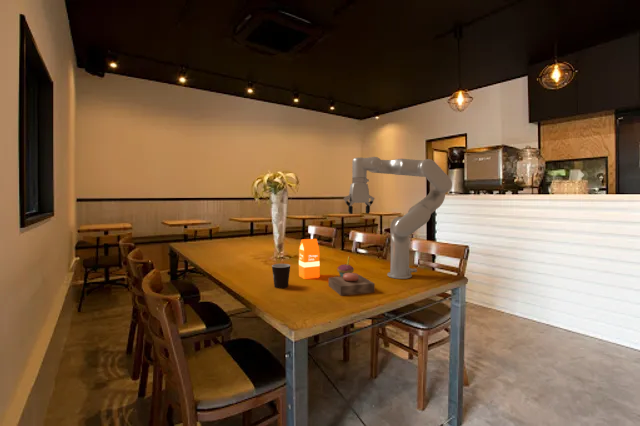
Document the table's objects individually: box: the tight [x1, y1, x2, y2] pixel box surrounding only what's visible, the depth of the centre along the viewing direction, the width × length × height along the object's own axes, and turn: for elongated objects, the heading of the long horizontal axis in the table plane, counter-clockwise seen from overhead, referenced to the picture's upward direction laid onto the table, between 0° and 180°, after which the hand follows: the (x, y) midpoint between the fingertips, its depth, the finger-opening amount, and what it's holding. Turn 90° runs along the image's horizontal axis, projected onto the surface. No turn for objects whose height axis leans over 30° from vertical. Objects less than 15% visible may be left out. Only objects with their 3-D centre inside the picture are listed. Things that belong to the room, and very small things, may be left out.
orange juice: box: [298, 238, 321, 280], centre depth 172 cm, size 8×9×20 cm
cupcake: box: [336, 255, 355, 277], centre depth 169 cm, size 9×8×12 cm
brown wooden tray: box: [328, 274, 376, 296], centre depth 149 cm, size 16×16×4 cm
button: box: [343, 272, 359, 281], centre depth 149 cm, size 7×7×2 cm
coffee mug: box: [271, 263, 291, 289], centre depth 155 cm, size 12×9×10 cm
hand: (359, 213), depth 173 cm, fingers open, 9 cm apart
